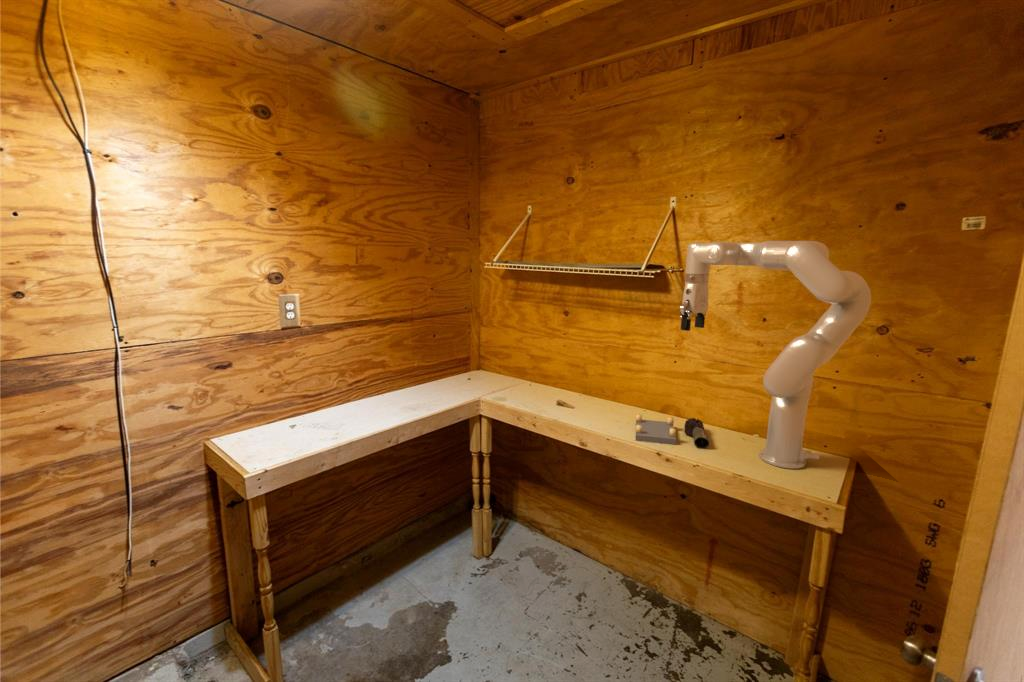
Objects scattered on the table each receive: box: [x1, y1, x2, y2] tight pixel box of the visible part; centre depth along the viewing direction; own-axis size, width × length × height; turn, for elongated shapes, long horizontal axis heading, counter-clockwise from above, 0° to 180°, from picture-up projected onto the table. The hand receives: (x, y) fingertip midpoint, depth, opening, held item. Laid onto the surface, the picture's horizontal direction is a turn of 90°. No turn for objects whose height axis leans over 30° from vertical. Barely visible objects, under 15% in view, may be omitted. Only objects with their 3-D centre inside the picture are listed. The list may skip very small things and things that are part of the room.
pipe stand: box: [635, 413, 677, 446], centre depth 162 cm, size 13×16×4 cm
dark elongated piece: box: [684, 417, 711, 450], centre depth 158 cm, size 18×7×6 cm, turn 165°
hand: (692, 328), depth 160 cm, fingers open, 9 cm apart
